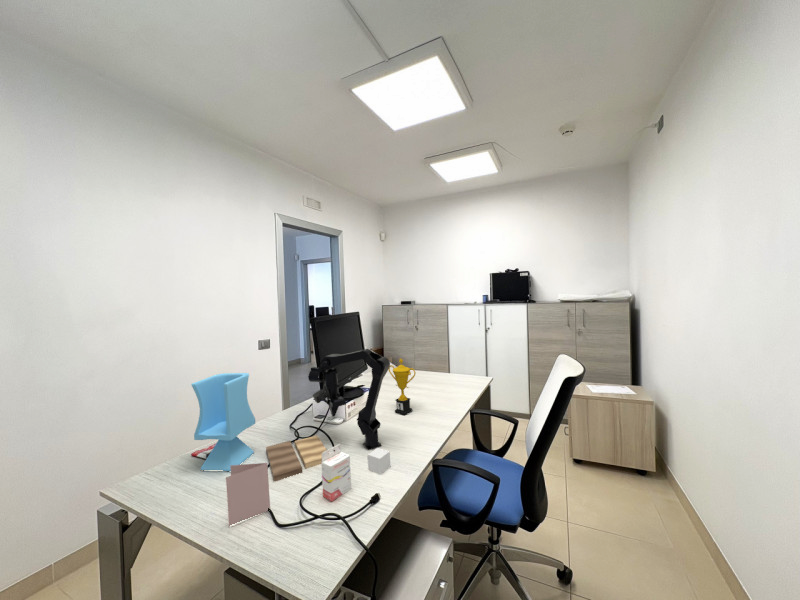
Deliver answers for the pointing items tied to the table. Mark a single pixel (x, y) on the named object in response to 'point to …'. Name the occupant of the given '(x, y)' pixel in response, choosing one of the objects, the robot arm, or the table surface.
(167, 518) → the table surface
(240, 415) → the blue pedestal chair
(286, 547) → the table surface
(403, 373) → the trophy
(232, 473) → the greeting card
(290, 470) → the walnut board
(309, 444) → the oak plank
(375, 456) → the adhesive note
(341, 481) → the ink cartridge box
